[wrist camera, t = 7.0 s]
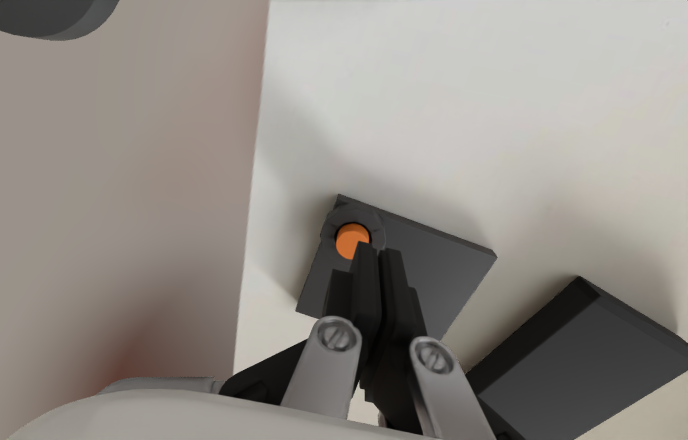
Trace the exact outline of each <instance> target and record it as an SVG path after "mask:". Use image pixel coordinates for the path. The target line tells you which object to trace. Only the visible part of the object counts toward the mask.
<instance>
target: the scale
mask: <svg viewBox="0 0 688 440" xmlns="http://www.w3.org/2000/svg"><path fill="white" fill-rule="evenodd" d="M352 223H353V224H359V225H361V226H362V227H364V228H365V229H366V231H367V232H368V235H369V243H370V244H372V245H373V248H376V249H377V257H378V254H379V251H380V250H384V251H385V249H386V247H387V248H391V249H395V250H400V251H401V254H402V259H403V263H404V268H405V272H406V277H407V281H408V286H410V287H414V288H415V289H416V291H417V294H418V298H419V302H420V306H421V310H422V314H423V318H424V322H425V326H426V330H427V334H428V337H431V338H434V339H436V340H438V341H440V340H441V339H442V338H443V336H444V335H445V333H446V332H447V330H448V329H449V327H450V326H451V325H452V323H453V322H454V320H455V319H456V317H457V316H458V314H459V313H460V312H461V310H462V309H463V307H464V306H465V304H466V303H467V301H468V300H469V299H470V297H471V296H472V294H473V293H474V291H475V290H476V288H477V287H478V285H479V284H480V283H481V281H482V280H483V278H484V277H485V275H486V274H487V272H488V271H489V270H490V268H491V267H492V265H493V264H494V262H495V261H496V259H497V258H498V257H497V256H496V254H495V253H494V252H493V250H491V249H488V248H485V247H482V246H480V245H477V244H474V243H472V242H469V241H466V240H463V239H461V238H458V237H455V236H453V235H450V234H447V233H444V232H442V231H439V230H436V229H433V228H431V227H428V226H425V225H423V224H420V223H417V222H414V221H412V220H409V219H406V218H404V217H401V216H398V215H395V214H393V213H390V212H387V211H384V210H382V209H379V208H376V207H374V206H371V205H368V204H365V203H363V202H360V201H357V200H355V199H352V198H349V197H346V196H344V195H341V194H338V197H337V200H336V202H335V205H334V208H333V210H332V211H331V212H330V213H328V214H327V217H326V220H325V222H324V225H323V228H322V231H321V234H320V237H321V242H320V245H319V248H318V250H317V253H316V256H315V258H314V261H313V264H312V266H311V269H310V272H309V274H308V277H307V280H306V282H305V285H304V288H303V290H302V293H301V296H300V298H299V301H298V304H297V307H296V310H295V311H296V312H299V313H302V314H305V315H308V316H311V317H314V318H317V319H321V315H322V310H323V304H324V300H325V295H326V291H327V287H328V283H329V279H330V275H331V272H332V269H337V270H341V271H346V272H349V269H350V266H351V262H352V259H347V258H345V257H343V256H342V255H340V253H339V252H338V251H337V248H336V241H337V236H338V232H339V230H340V229H341V228H342V227H343V226H345V225H347V224H352Z"/></svg>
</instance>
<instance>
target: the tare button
mask: <svg viewBox="0 0 688 440" xmlns="http://www.w3.org/2000/svg"><path fill="white" fill-rule="evenodd" d="M358 241H362V242H366V243H369V235H368V232H367V231H366V229H365V228H364V227H362V226H361V225H359V224H353V223H352V224H347V225H345V226H343V227H342V228H341V229H340V230H339V232H338V236H337V241H336V248H337V251H338V252H339V253H340V255H342V256H343V257H345V258H347V259H353V256H354V252H355V249H356V246H357V243H358Z"/></svg>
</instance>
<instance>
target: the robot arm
mask: <svg viewBox="0 0 688 440" xmlns="http://www.w3.org/2000/svg"><path fill="white" fill-rule="evenodd" d="M359 380H360V382H359ZM358 382H359V384H360V389H365V401H367V402H371V403H374V405H375V406H376V407H377V408H378V409H379V414H378V424H379V426H374V425H369V424H365V423H360V422H355V421H350V420H347V417H348V411H349V406H350V401H351V399H352V398H353V395H354V392H355V390H356V387H357V385H358ZM6 440H526V439H525V438H524V437H523V436H522V435H521V434H520V433H519V432H518V431H516V430H515V429H514V428H513V427H512V426H511V425H510V424H509V423H508V422H506V421H505V420H504V419H503V418H502V417H501V416H500V415H499V414H498V413H496V412H495V411H494V410H493V409H492V408H491V407H490V406H489V405H487V404H486V403H485V402H484V401H483V400H482V399H481V398H480V397H479V396H477V395H476V394H475V393H474V392H473V391H472V389H471V386H470V384H469V382H468V380H467V378H466V376H465V374H464V372H463V370H462V368H461V366H460V364H459V362H458V360H457V358H456V356H455V355H454V353H453V352H452V351H451V350H450V349H449V348H448V347H447V346H446V345H445V344H443V343H442V342H440V341H438V340H436V339H434V338H431V337H428V334H427V330H426V326H425V322H424V318H423V314H422V310H421V306H420V302H419V298H418V294H417V291H416V289H415V288H414V287H410V286H408V281H407V277H406V272H405V268H404V263H403V259H402V254H401V251H400V250H395V249H391V248H387V247H386V249H385V251H384V250H380V251H379V254H378V257H377V249H376V248H373V245H372V244H370V243H366V242H362V241H358V243H357V246H356V249H355V252H354V256H353V259H352V262H351V266H350V269H349V272H346V271H341V270H337V269H332V272H331V275H330V279H329V283H328V287H327V291H326V295H325V300H324V304H323V310H322V315H321V319H319V320H318V321H317V322H316V323H315V324H314V326H313V328H312V330H311V333H310V335H309V338H308V339H306V340H304V341H302V342H300V343H298V344H296V345H294V346H292V347H290V348H288V349H286V350H284V351H281V352H279V353H277V354H275V355H273V356H271V357H269V358H267V359H265V360H263V361H261V362H259V363H257V364H255V365H253V366H251V367H249V368H247V369H245V370H243V371H241V372H239V373H237V374H235V375H234V376H232V377H231V378H229V379H228V380H227V381H214V377H148V378H147V377H139V378H128V379H122V380H120V381H117V382H115V383H112V384H110V385H108V386H107V387H106V388H104V389H103V390H102V391H100V392H99V393H98V394H97V395H96V396H93V397H89V398H85V399H81V400H78V401H74V402H71V403H68V404H65V405H63V406H60V407H58V408H56V409H53V410H51V411H49V412H47V413H45V414H43V415H41V416H39V417H38V418H36V419H35V420H33V421H31V422H29V423H28V424H26V425H25V426H23V427H22V428H20V429H19V430H18V431H16V432H15V433H14V434H12V435H11V436H10V437H8V438H7V439H6Z"/></svg>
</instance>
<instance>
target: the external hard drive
mask: <svg viewBox="0 0 688 440" xmlns="http://www.w3.org/2000/svg"><path fill="white" fill-rule="evenodd" d="M686 371H688V343H687V342H686V341H684V340H683V339H682V338H681V337H679V336H678V335H676V334H675V333H673V332H671V331H670V330H668V329H666V328H665V327H663V326H661V325H660V324H658V323H656V322H655V321H653V320H652V319H650V318H648V317H647V316H645V315H643V314H642V313H640V312H638V311H637V310H635V309H633V308H632V307H630V306H628V305H627V304H625V303H624V302H622V301H620V300H619V299H617V298H615V297H614V296H612V295H610V294H609V293H607V292H605V291H604V290H602V289H601V288H599V287H597V286H596V285H594V284H592V283H591V282H589V281H587V280H586V279H584V278H582V277H581V276H579V277H578V278H577V279H576V280H575V281H574V282H572V283H571V284H570V285H569V286H568V287H567V288H566V289H564V290H563V291H562V292H561V293H560V294H559V295H557V296H556V297H555V298H554V299H553V300H552V301H551V302H549V303H548V304H547V305H546V306H545V307H544V308H542V309H541V310H540V311H539V312H538V313H537V314H536V315H534V316H533V317H532V318H531V319H530V320H529V321H527V322H526V323H525V324H524V325H523V326H522V327H521V328H519V329H518V330H517V331H516V332H515V333H514V334H512V335H511V336H510V337H509V338H508V339H507V340H506V341H504V342H503V343H502V344H501V345H500V346H499V347H498V348H496V349H495V350H494V351H493V352H492V353H491V354H489V355H488V356H487V357H486V358H485V359H484V360H483V361H481V362H480V363H479V364H478V365H477V366H476V367H474V368H473V369H472V370H471V371H470V372H469V373H468V374H466V375H465V376H466V378H467V380H468V382H469V384H470V386H471V389H472V391H473V392H474V393H475V394H476V395H477V396H479V397H480V398H481V399H482V400H483V401H484V402H485V403H486V404H487V405H489V406H490V407H491V408H492V409H493V410H494V411H495V412H496V413H498V414H499V415H500V416H501V417H502V418H503V419H504V420H505V421H506V422H508V423H509V424H510V425H511V426H512V427H513V428H514V429H515V430H516V431H518V432H519V433H520V434H521V435H522V436H523V437H524V438H525V439H526V440H574V439H576V438H578V437H579V436H581V435H583V434H584V433H586V432H587V431H589V430H591V429H592V428H594V427H596V426H597V425H599V424H601V423H602V422H604V421H606V420H607V419H609V418H611V417H612V416H614V415H615V414H617V413H619V412H620V411H622V410H624V409H625V408H627V407H629V406H630V405H632V404H634V403H635V402H637V401H638V400H640V399H642V398H643V397H645V396H647V395H648V394H650V393H652V392H653V391H655V390H657V389H658V388H660V387H662V386H663V385H665V384H666V383H668V382H670V381H671V380H673V379H675V378H676V377H678V376H680V375H681V374H683V373H685V372H686Z"/></svg>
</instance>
